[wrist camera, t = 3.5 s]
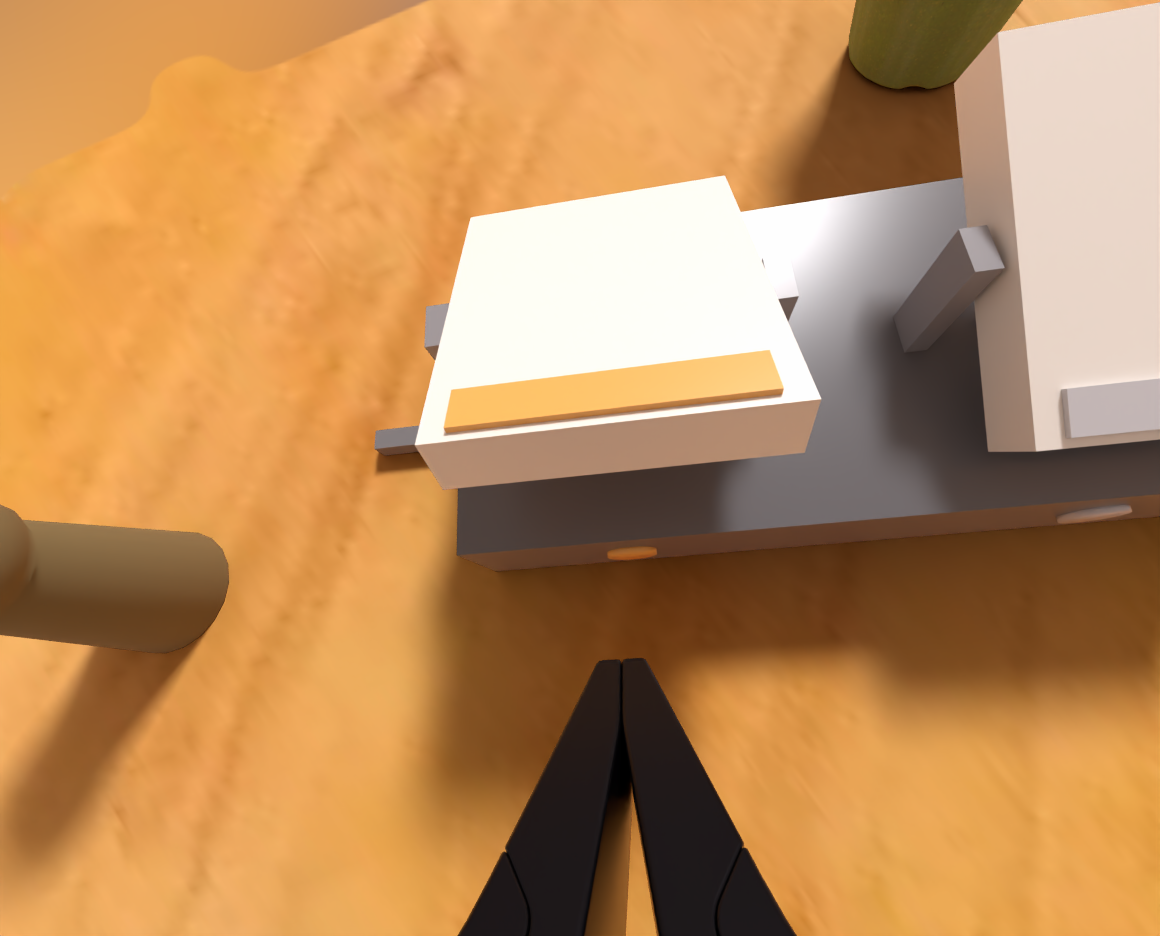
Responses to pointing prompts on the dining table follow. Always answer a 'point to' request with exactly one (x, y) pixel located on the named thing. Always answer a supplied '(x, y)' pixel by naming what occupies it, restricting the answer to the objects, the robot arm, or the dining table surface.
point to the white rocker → (1067, 228)
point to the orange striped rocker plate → (613, 343)
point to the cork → (108, 584)
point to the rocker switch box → (831, 415)
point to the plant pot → (922, 38)
